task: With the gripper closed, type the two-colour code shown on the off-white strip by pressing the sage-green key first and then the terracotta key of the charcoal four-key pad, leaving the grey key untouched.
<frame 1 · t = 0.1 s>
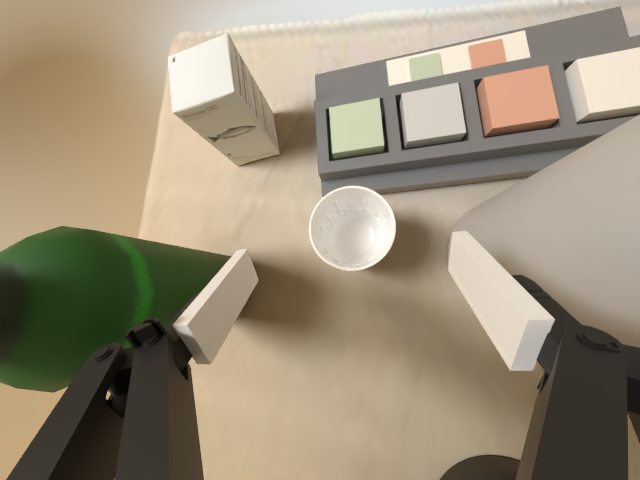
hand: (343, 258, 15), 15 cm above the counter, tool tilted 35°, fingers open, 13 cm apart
key sage: (355, 129, 28), point 4 cm above the counter, slide at 0.0 cm
bottle: (228, 285, 33), on the counter
key grey: (430, 116, 26), point 4 cm above the counter, slide at 0.0 cm
key terracotta: (515, 102, 24), point 4 cm above the counter, slide at 0.0 cm
key white: (611, 85, 23), point 4 cm above the counter, slide at 0.0 cm
key pad: (454, 118, 30), on the counter
white cup: (355, 240, 31), on the counter
cylinder vase: (501, 254, 27), on the counter
supplement box: (257, 140, 36), on the counter
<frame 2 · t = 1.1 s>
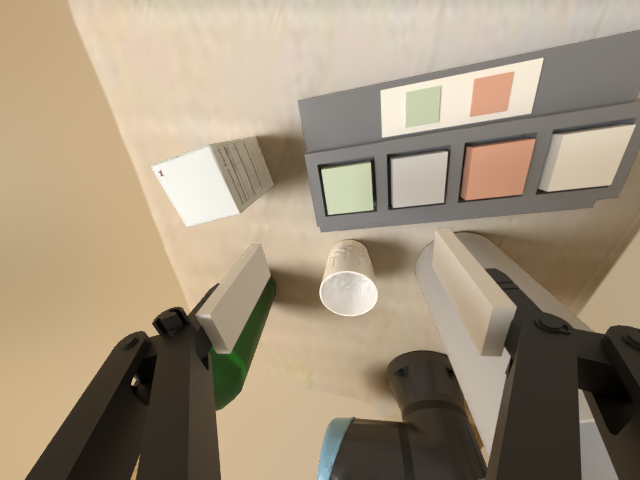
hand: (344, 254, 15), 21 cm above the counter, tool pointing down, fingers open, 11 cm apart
key sage: (348, 188, 30), point 4 cm above the counter, slide at 0.0 cm
bottle: (256, 283, 45), on the counter
key grey: (417, 180, 28), point 4 cm above the counter, slide at 0.0 cm
key terracotta: (494, 170, 26), point 4 cm above the counter, slide at 0.0 cm
key white: (581, 159, 25), point 4 cm above the counter, slide at 0.0 cm
key pad: (443, 153, 30), on the counter
white cup: (349, 255, 40), on the counter
cylinder vase: (453, 263, 38), on the counter
supplement box: (246, 167, 35), on the counter
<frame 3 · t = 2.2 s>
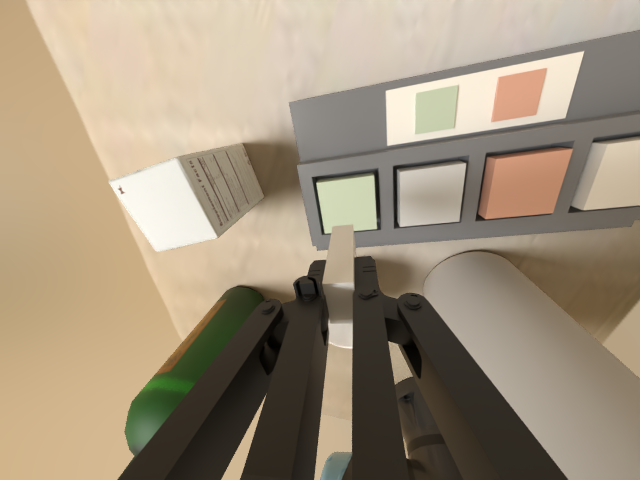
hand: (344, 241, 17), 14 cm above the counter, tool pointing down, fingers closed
key sage: (347, 204, 26), point 4 cm above the counter, slide at 0.0 cm
bottle: (247, 302, 41), on the counter
key grey: (428, 195, 24), point 4 cm above the counter, slide at 0.0 cm
key terracotta: (520, 185, 22), point 4 cm above the counter, slide at 0.0 cm
key white: (625, 173, 21), point 4 cm above the counter, slide at 0.0 cm
key pad: (457, 163, 26), on the counter
white cup: (349, 274, 36), on the counter
cylinder vase: (465, 284, 34), on the counter
supplement box: (232, 177, 31), on the counter
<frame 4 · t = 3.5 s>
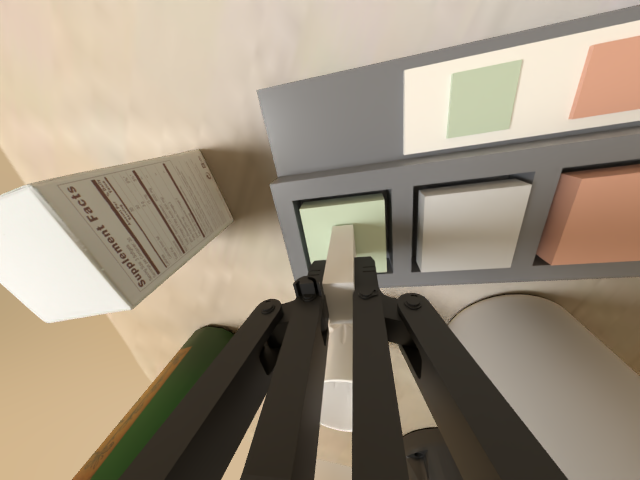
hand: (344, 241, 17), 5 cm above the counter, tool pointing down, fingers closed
key sage: (345, 237, 18), point 4 cm above the counter, slide at 0.3 cm, touching gripper
bottle: (222, 343, 34), on the counter
key grey: (464, 228, 16), point 4 cm above the counter, slide at 0.0 cm
key terracotta: (610, 216, 15), point 4 cm above the counter, slide at 0.0 cm
key pad: (502, 178, 18), on the counter
white cup: (347, 315, 28), on the counter
cylinder vase: (499, 331, 26), on the counter
supplement box: (190, 195, 23), on the counter
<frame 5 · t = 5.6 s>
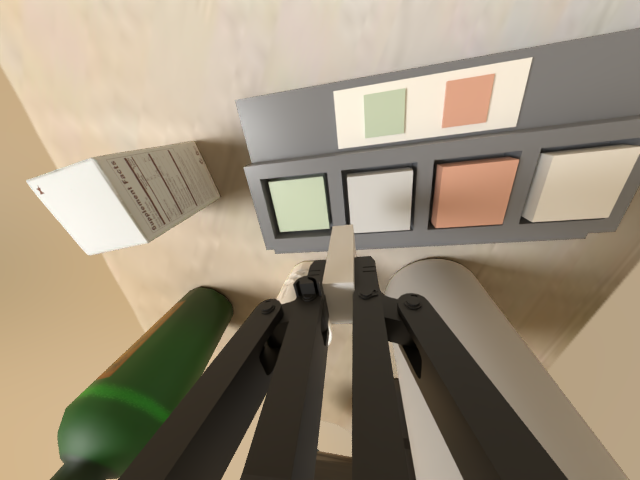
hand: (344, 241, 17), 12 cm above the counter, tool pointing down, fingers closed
key sage: (301, 203, 26), point 3 cm above the counter, slide at 1.6 cm
bottle: (212, 303, 40), on the counter
key grey: (378, 201, 23), point 4 cm above the counter, slide at 0.0 cm
key terracotta: (469, 194, 22), point 4 cm above the counter, slide at 0.0 cm
key white: (574, 185, 20), point 4 cm above the counter, slide at 0.0 cm
key pad: (413, 168, 25), on the counter
white cup: (311, 277, 35), on the counter
cylinder vase: (427, 291, 33), on the counter
supplement box: (187, 176, 30), on the counter
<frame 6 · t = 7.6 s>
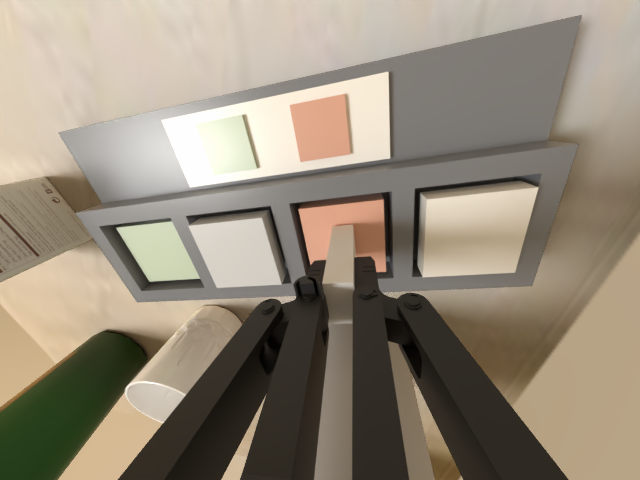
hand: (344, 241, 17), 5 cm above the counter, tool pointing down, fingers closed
key sage: (166, 249, 22), point 3 cm above the counter, slide at 1.6 cm
bottle: (124, 346, 36), on the counter
key grey: (241, 251, 19), point 4 cm above the counter, slide at 0.0 cm
key terracotta: (344, 237, 18), point 3 cm above the counter, slide at 1.0 cm, touching gripper
key white: (467, 232, 16), point 4 cm above the counter, slide at 0.0 cm
key pad: (297, 204, 21), on the counter
white cup: (220, 322, 30), on the counter
cylinder vase: (349, 336, 29), on the counter
supplement box: (53, 215, 25), on the counter
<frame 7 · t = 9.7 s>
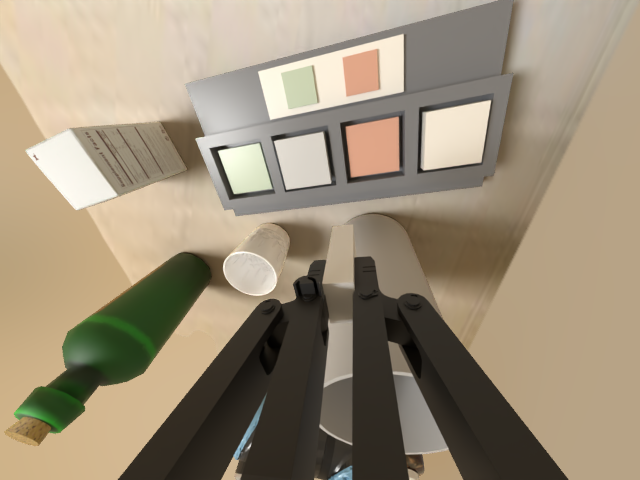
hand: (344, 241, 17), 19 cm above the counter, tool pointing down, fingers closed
key sage: (248, 168, 32), point 3 cm above the counter, slide at 1.6 cm
bottle: (193, 268, 47), on the counter
key grey: (304, 161, 29), point 4 cm above the counter, slide at 0.0 cm
key terracotta: (372, 148, 28), point 3 cm above the counter, slide at 1.6 cm
key white: (451, 137, 25), point 4 cm above the counter, slide at 0.0 cm
key pad: (338, 134, 31), on the counter
white cup: (272, 239, 41), on the counter
cylinder vase: (370, 245, 39), on the counter
supplement box: (158, 153, 35), on the counter
jar: (390, 405, 64), on the counter
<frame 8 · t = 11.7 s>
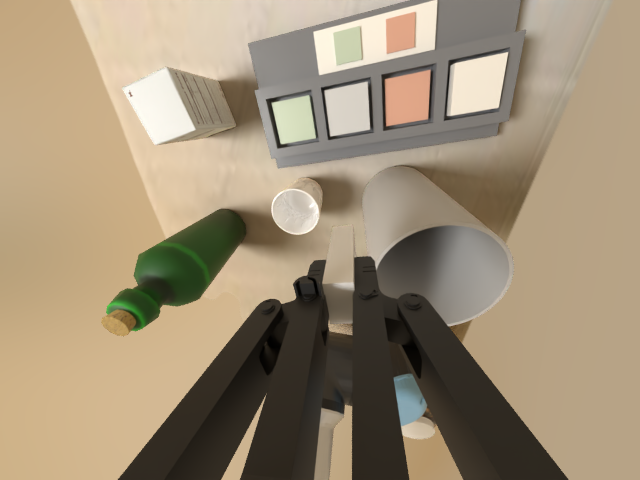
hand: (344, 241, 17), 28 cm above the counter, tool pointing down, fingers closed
key sage: (295, 120, 37), point 3 cm above the counter, slide at 1.6 cm
bottle: (229, 225, 51), on the counter
key grey: (347, 110, 34), point 4 cm above the counter, slide at 0.0 cm
key terracotta: (405, 100, 33), point 3 cm above the counter, slide at 1.6 cm
key white: (474, 86, 30), point 4 cm above the counter, slide at 0.0 cm
key pad: (374, 91, 36), on the counter
white cup: (306, 194, 45), on the counter
cylinder vase: (394, 198, 44), on the counter
supplement box: (212, 111, 40), on the counter
jar: (403, 369, 67), on the counter
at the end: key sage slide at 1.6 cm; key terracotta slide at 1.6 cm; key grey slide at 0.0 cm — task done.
